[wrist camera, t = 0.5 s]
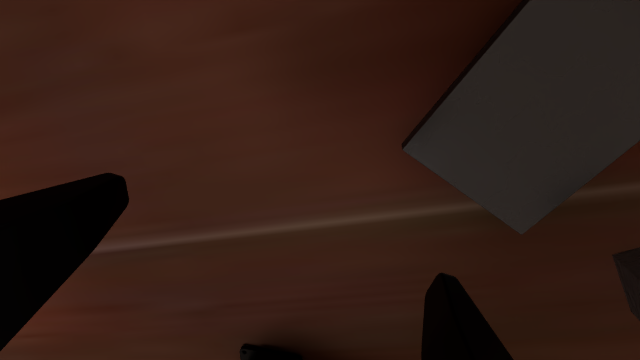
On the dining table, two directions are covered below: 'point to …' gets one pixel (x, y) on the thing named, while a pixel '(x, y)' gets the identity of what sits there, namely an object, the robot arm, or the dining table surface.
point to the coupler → (538, 108)
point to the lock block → (630, 277)
